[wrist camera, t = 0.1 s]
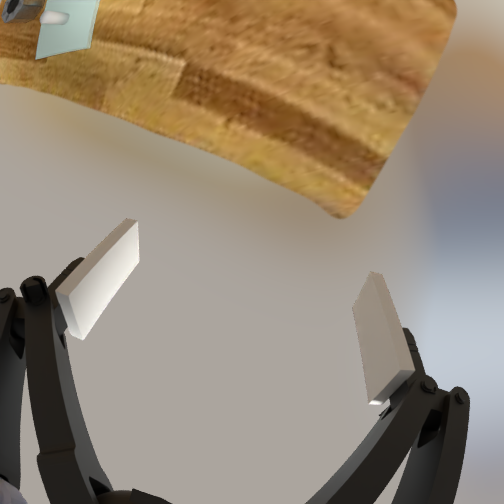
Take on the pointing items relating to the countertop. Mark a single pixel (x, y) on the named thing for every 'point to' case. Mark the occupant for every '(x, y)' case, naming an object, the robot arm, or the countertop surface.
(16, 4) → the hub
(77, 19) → the post block
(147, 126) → the countertop surface
